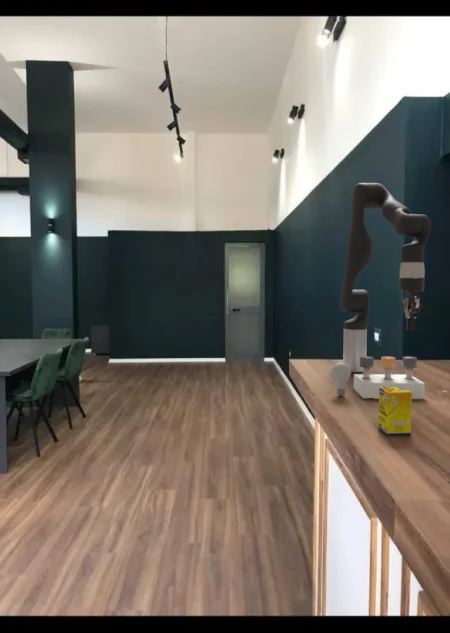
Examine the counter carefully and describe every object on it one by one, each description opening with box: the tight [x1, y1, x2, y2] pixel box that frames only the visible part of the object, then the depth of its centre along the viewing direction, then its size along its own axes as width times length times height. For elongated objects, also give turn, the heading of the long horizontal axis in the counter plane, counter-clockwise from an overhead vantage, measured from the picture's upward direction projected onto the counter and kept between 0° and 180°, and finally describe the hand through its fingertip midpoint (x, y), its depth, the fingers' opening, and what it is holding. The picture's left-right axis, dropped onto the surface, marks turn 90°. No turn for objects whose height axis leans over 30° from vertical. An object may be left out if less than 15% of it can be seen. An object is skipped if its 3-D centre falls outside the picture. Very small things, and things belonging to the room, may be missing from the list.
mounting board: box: [353, 373, 426, 400], centre depth 161 cm, size 14×19×5 cm
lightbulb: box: [331, 361, 352, 397], centre depth 158 cm, size 6×6×11 cm
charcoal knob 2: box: [402, 356, 418, 380], centre depth 161 cm, size 4×4×8 cm
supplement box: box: [378, 387, 413, 438], centre depth 121 cm, size 6×6×11 cm
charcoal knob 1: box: [360, 355, 375, 379], centre depth 161 cm, size 4×4×8 cm
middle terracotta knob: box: [380, 356, 396, 380], centre depth 161 cm, size 4×4×8 cm
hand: (410, 329), depth 159 cm, fingers closed
